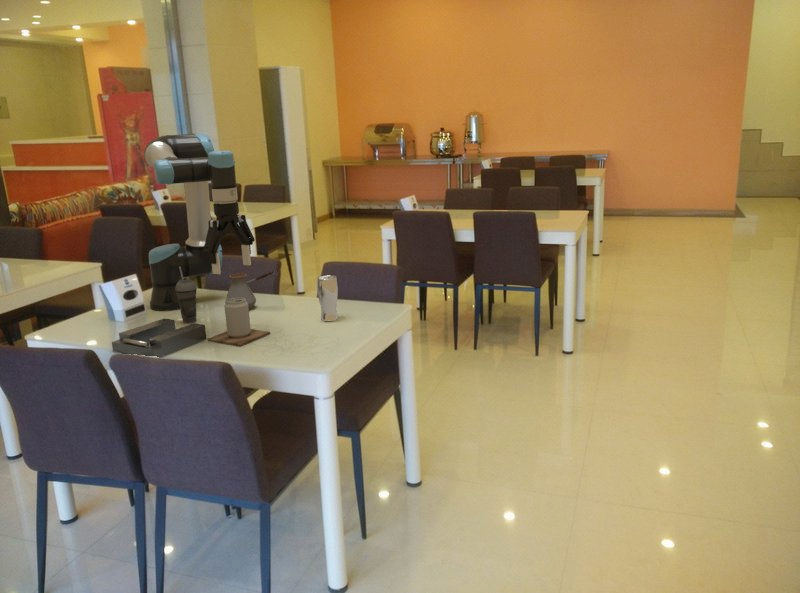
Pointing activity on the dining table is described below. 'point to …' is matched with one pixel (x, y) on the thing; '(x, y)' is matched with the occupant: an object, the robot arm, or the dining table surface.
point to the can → (237, 317)
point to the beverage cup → (186, 299)
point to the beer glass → (328, 297)
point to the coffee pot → (243, 288)
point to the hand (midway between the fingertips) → (232, 269)
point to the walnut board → (228, 340)
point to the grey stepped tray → (159, 338)
